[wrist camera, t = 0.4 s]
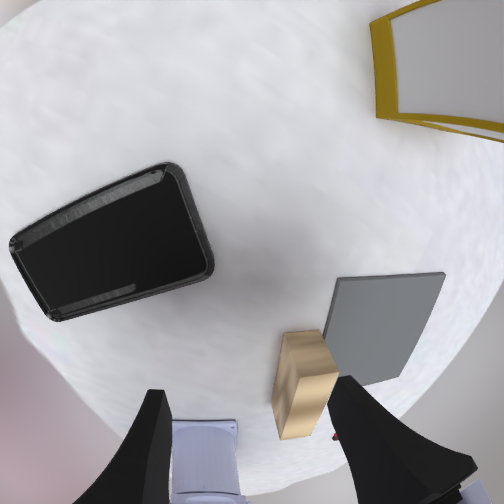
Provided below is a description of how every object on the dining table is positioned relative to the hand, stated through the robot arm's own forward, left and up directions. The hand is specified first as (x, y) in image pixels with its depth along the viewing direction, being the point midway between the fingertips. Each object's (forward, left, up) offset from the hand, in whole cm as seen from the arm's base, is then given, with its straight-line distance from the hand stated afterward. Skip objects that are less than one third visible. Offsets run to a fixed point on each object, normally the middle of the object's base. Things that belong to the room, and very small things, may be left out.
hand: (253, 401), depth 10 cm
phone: (+2, +9, -10) cm, 14 cm away
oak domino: (-10, -6, -10) cm, 15 cm away
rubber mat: (-7, -14, -10) cm, 18 cm away
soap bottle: (+16, -15, -10) cm, 24 cm away
